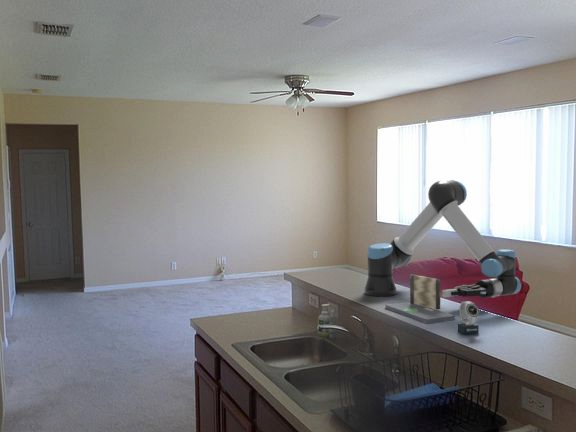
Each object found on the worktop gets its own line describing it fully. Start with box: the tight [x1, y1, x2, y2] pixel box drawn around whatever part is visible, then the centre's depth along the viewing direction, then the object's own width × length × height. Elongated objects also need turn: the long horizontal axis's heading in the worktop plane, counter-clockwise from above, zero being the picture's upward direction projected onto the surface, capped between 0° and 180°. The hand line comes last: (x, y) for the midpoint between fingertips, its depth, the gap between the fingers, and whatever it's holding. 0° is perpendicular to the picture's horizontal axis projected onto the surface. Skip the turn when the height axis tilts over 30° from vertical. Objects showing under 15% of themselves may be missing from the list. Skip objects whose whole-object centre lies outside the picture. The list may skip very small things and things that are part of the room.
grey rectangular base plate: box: [385, 301, 456, 324], centre depth 219 cm, size 28×13×2 cm, turn 23°
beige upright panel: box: [409, 274, 441, 311], centre depth 223 cm, size 15×3×12 cm, turn 33°
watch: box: [457, 300, 480, 336], centre depth 190 cm, size 6×8×11 cm
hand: (443, 293), depth 220 cm, fingers closed
